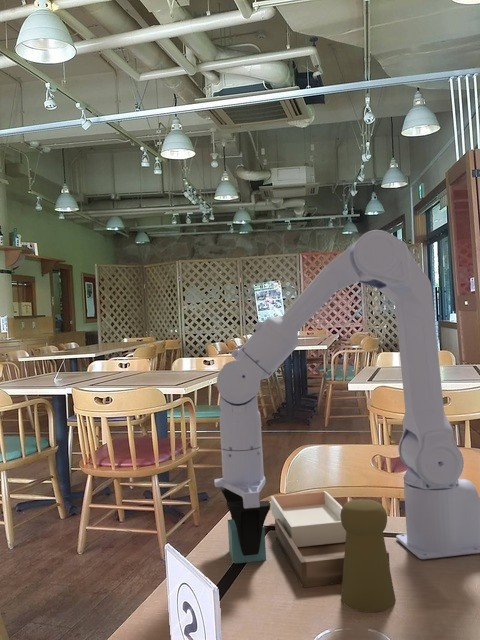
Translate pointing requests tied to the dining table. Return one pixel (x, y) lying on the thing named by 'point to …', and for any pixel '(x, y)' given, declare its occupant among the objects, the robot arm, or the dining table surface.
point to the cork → (366, 557)
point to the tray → (310, 518)
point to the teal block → (236, 549)
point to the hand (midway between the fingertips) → (246, 544)
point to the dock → (313, 559)
